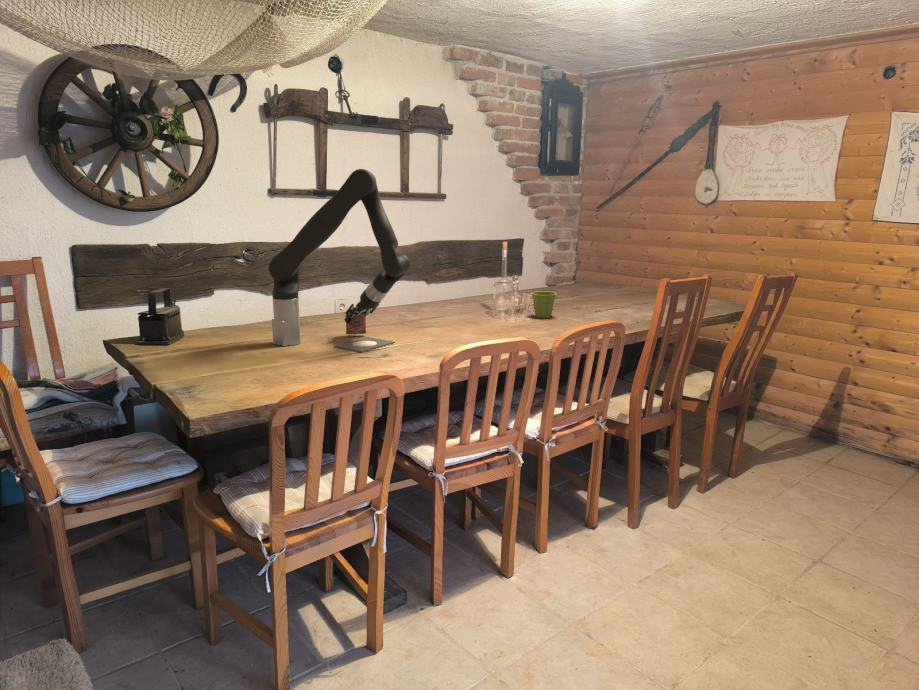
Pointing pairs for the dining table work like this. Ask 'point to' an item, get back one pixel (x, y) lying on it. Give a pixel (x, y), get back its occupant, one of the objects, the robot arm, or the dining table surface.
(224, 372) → the dining table surface
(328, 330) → the dining table surface
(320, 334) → the dining table surface
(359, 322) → the lighter
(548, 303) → the plant pot
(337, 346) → the mat
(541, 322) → the dining table surface
